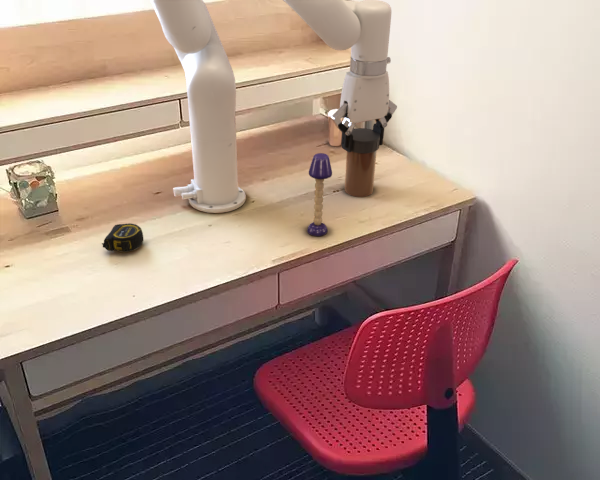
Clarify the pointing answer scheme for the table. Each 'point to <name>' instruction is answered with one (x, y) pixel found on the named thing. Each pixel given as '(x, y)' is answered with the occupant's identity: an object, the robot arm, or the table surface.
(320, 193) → the toy lamp
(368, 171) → the jar
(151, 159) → the table surface
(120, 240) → the tape measure
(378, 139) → the cap
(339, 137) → the milkshake
